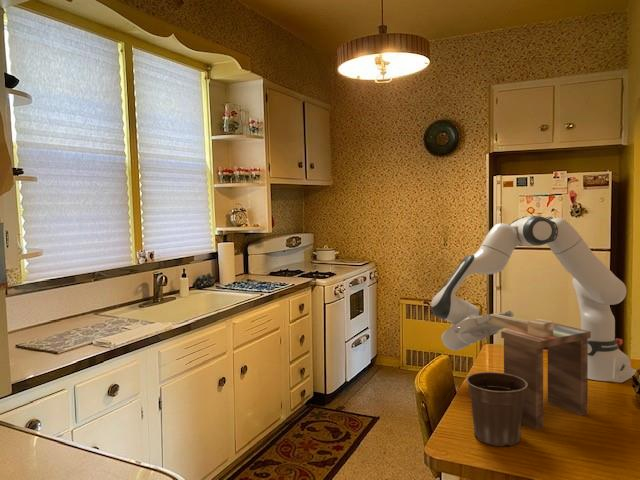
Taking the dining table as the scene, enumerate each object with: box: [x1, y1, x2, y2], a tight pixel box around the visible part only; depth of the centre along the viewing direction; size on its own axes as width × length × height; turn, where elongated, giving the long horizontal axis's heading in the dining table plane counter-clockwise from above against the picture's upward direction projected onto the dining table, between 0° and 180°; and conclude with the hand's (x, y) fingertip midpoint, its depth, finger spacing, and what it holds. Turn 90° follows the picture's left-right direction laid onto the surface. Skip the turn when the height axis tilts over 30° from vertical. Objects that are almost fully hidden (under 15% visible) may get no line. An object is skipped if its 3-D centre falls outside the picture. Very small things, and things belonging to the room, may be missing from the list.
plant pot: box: [465, 371, 528, 447], centre depth 137 cm, size 16×16×16 cm
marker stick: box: [487, 313, 554, 338], centre depth 153 cm, size 5×21×4 cm, turn 30°
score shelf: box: [500, 322, 591, 430], centre depth 151 cm, size 22×14×26 cm, turn 115°
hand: (500, 314), depth 158 cm, fingers open, 8 cm apart
